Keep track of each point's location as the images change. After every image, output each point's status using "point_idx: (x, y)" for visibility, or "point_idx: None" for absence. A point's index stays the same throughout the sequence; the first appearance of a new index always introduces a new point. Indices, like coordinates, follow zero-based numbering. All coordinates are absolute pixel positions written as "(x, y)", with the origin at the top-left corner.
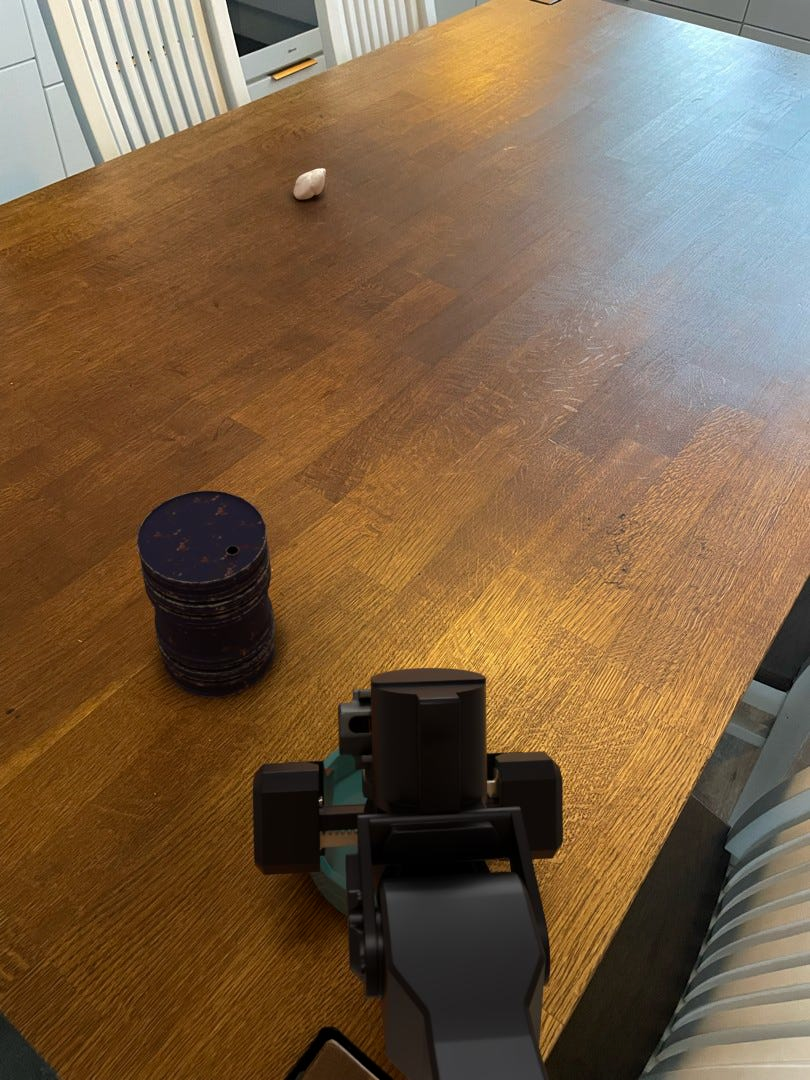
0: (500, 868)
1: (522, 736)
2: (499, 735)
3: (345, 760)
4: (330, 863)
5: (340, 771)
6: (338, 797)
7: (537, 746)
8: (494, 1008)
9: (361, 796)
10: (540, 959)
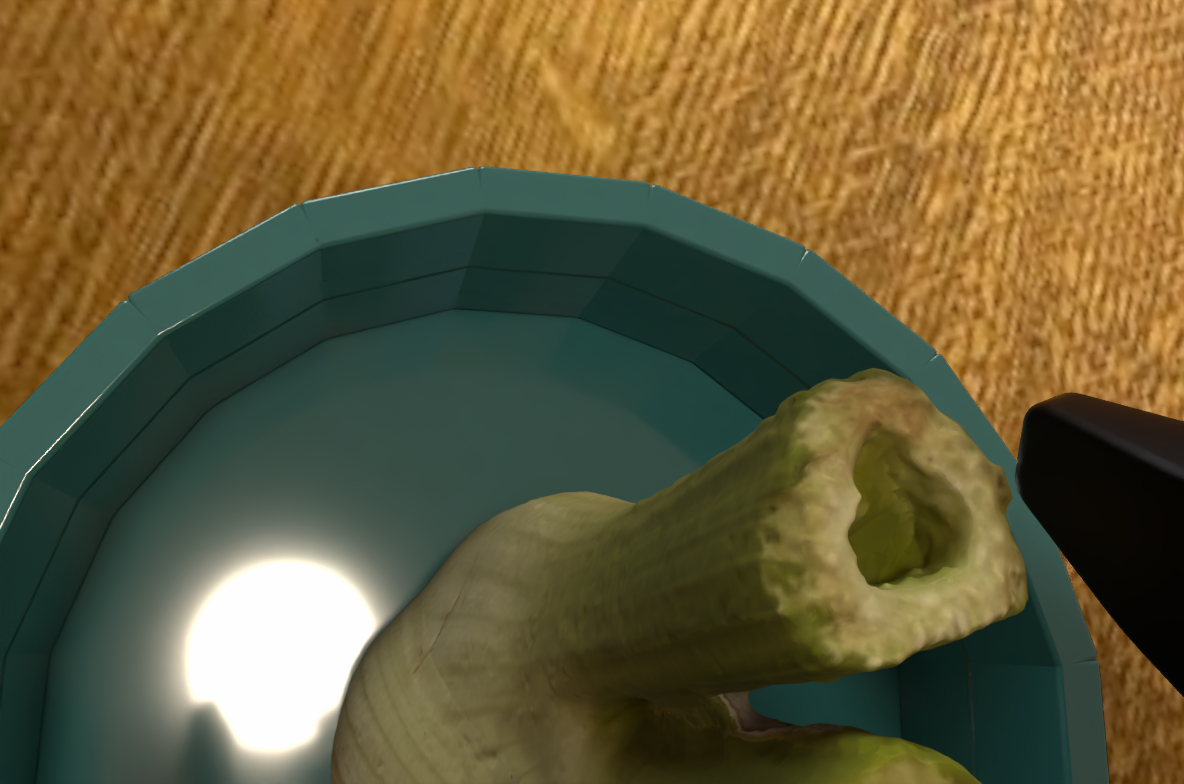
0: None
1: (937, 32)
2: (843, 47)
3: (113, 438)
4: None
5: (108, 483)
6: (148, 600)
7: (1007, 67)
8: None
9: (279, 553)
10: None
